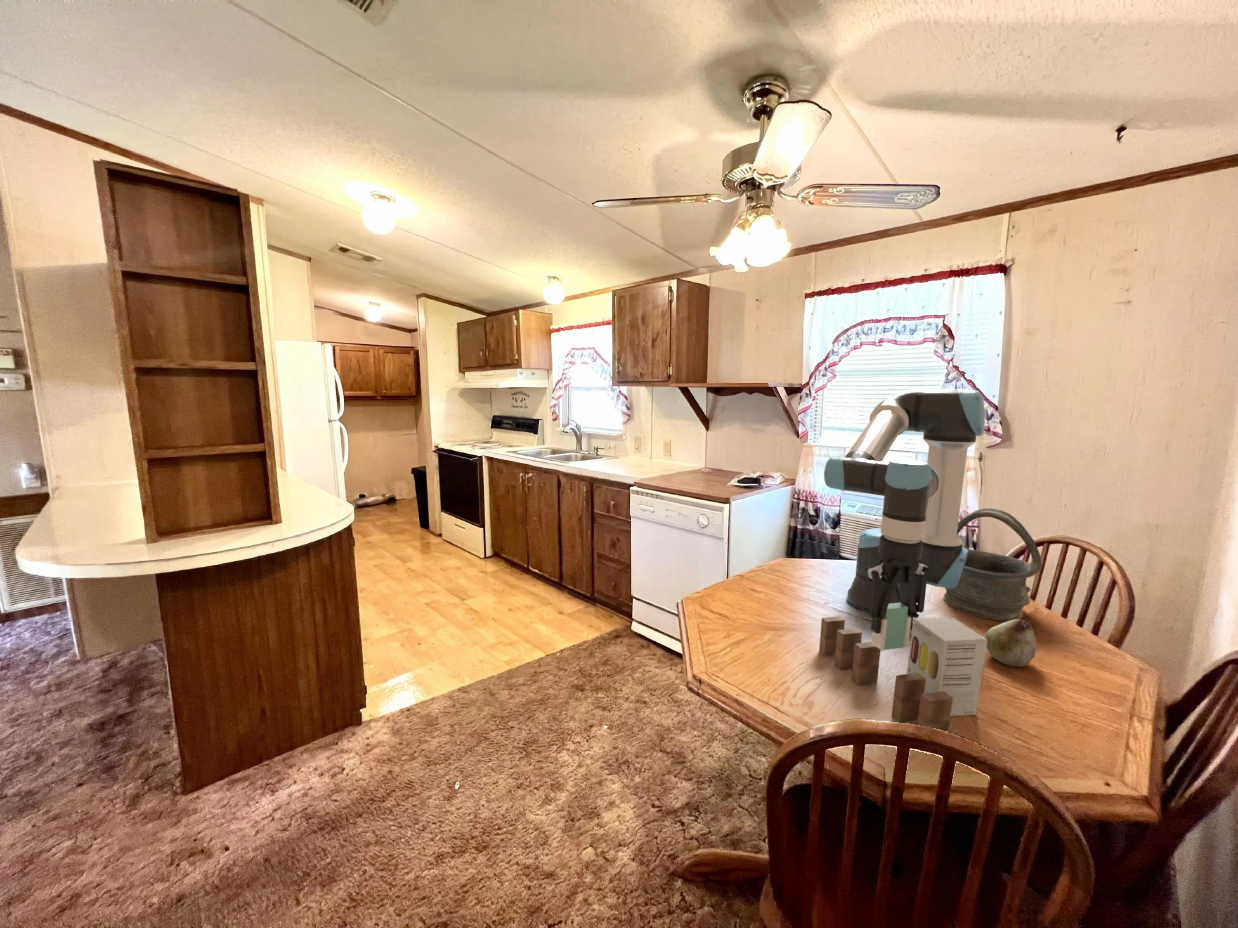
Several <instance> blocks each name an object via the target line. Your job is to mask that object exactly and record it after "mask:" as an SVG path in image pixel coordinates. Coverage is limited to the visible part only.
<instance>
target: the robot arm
mask: <svg viewBox="0 0 1238 928" xmlns="http://www.w3.org/2000/svg"><path fill="white" fill-rule="evenodd" d="M985 421H986V416H985V402H984V396H983V395H982V393H981V392H980V391H978V390H974V389H973V390H972V389H962V388H959V389H950V388H949V389H940V388H939V389H932V388H931V389H930V388H929V389H925V388H924V389H922V388H921V389H920V388H916V389H915V388H914V389H913V388H912V389H909V390H908V389H907V390H903V391H900V392H897V393H895V394H892V395H891V396H888V397H887V398H885V399H884V400H882V401H881V402H879V404H877V405H876V406H875V407H874V408H873V410H872V411H871V413H870V415H869V421H868V424H867V425H866V427H865V428H864V430H863V431H862V433H861V434H859V436H858V438H857V439H856V441H855V442H854V443H853V445H852V446H851V447H850V449H849V450H848V452H847V453H846V455H845V456H844V457H842V456H833V457H830V458H828V460H827V461H826V464H825V465H824V466H825V467H824V472H823V477H824V478H823V479H824V483H825V485H826V487H828V488H830V489H834V490H839V491H843V492H845V491H846V492H854V493H859V494H866V495H867V494H868V495H875V496H880V497H881V496H882V497H883V507H882V512H881V513H882V515H881V522H880V524H881V525H880V527H877V528H876V527H875V528H868V529H865V530H863V531H862V532H860V535H859V538H858V543H857V554H856V555H857V556H856V567H855V576H854V578H853V581H852V583H851V585H850V588H848V591H847V595H846V596H847V597H846V600H847V603H849V604H850V605H851V606H853V607H854V608H856V609H858V610H861V611H863V612H864V613H866V614H867V616H869V617H871V625H870V630H871V631H872V633H871V634H872V635H871V642H872V644H873V645H875V646H876V647H878V648H879V649H880V650H881V651H884V647H885V638H886V629H887V619H885V618H884V616H885V613H886V610H887V607H888V604H890V603H902V604H904V605H906V606H907V607H908V612H907V620H906V629H905V637H904V647H903V648H908V647H909V641H910V634H911V633H910V632H911V631H912V628H913V620H914V618H920V617H919V616H920V614H921V613H923V612H924V611H925V602H926V592H927V590H926V589H927V585H929V586H933V587H935V588H942V589H943V588H944V589H945V588H948V589H953V588H955V587H957V585H958V583H959V580H960V577H961V575H962V572H963V568H964V565H965V562H966V559H967V555H968V550H969V549H967V548H965V547H963V544H964V543H963V540H962V539H961V538H960V536H957V529H958V522H959V521H960V520H959V519H960V512H961V504H962V496H963V487H964V480H965V472H966V464H967V456H968V449H969V447H972V446H973V445H974V444H975V443H976V442H977V441H976V440H977V437H981V436H984V434H985V423H986V422H985ZM905 432H916V433H917V432H918V433H923V437H922V440H923V441H924V442H925V444H927V445H928V452H927V458H926V459H927V461H921V460H915V459H892V460H890V461H889V462H888V461H883V460H884V458H885V457H886V455H887V454H888V452H889V450H890V449H891V447H892V446H893V444H894V442H895V440H896V439H897V438H898V436H900V435H902V434H904V433H905ZM919 613H920V614H919Z"/></svg>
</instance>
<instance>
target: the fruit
mask: <svg viewBox="0 0 1238 928" xmlns="http://www.w3.org/2000/svg"><path fill="white" fill-rule="evenodd" d="M984 637H985V638H986V639H987V647H986V650H987V651H988V653H989V654H990V655H991V657H993V658H994V659H995V660H997V661H998V662H1000V663H1002V664H1004V665H1006V666H1011V667H1015V668H1018V667H1025V666H1027V665H1029V664H1030V663H1031V662H1032V660H1033V659H1034V657H1035V655H1036V652H1037V649H1038V643H1037V639H1036V636H1035V633H1034V629H1033V627H1032V625H1031V624H1030V623H1028V621H1027V620H1023V619H1021V618H1020V619H1015V620H1011V621H1005V622H1001V623H1000V624H998V625H995V626H992V627H991V628H989V629H988V630H987V631H986V633H985V635H984Z"/></svg>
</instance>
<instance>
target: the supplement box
mask: <svg viewBox="0 0 1238 928" xmlns="http://www.w3.org/2000/svg"><path fill="white" fill-rule="evenodd" d="M986 651H987V639H986V638H985V636H983V635H981V634H979V633H978V632H976V631H975V630H973V629H971V628H969V627H968V626H966V625H965V624H963V623H962V622H961V621H960V620H957V619H956V618H954V616H953V617H952V616H948V617H947V616H946V617H945V616H944V617H943V616H941V617H918V618H914V617H913V624H912V629H911V638H910V645H909V652H908V659H907V660H908V661H907V668H906V674H910V673H917V672H918V673H919V674H921V675H922V676H923V677H925V678H926V682H925V690H924V694H928V693H934V692H941V691H944V692H945V693H947V694H948V695H950V696H951V697H952V698H953V701H952V708H951V715H950V717H957V716H958V717H959V716H977V709H978V703H979V697H980V690H981V683H982V677H983V671H984V664H985V658H986Z"/></svg>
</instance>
